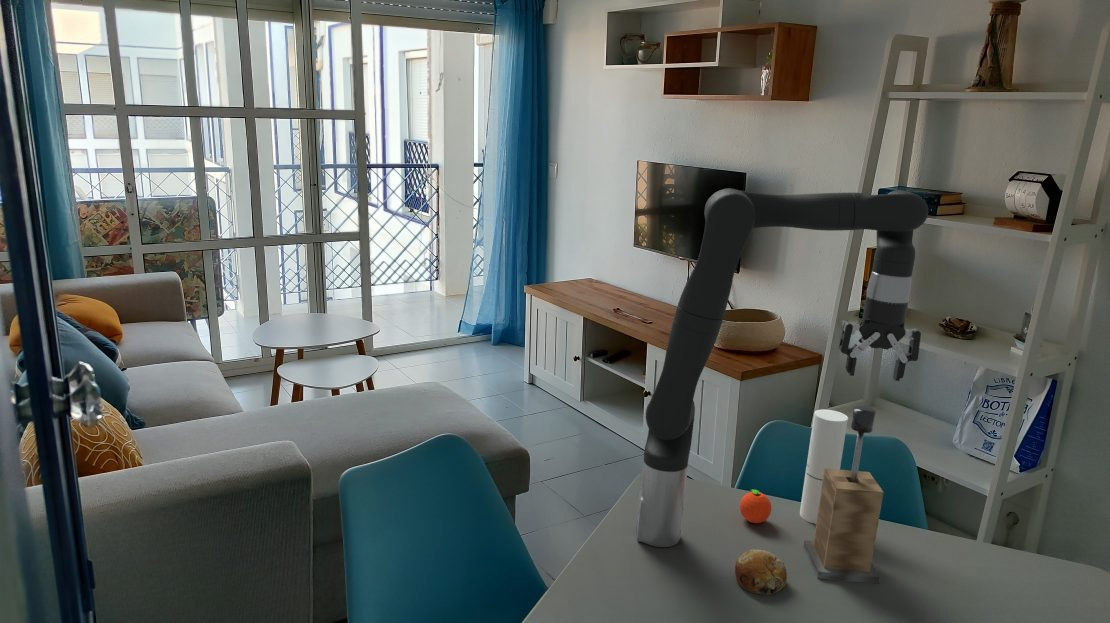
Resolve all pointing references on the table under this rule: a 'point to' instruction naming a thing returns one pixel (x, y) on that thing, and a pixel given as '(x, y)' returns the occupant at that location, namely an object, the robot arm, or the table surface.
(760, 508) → the clementine
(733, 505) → the table surface
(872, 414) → the plunger
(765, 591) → the bread roll
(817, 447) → the cylindrical container
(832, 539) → the box
